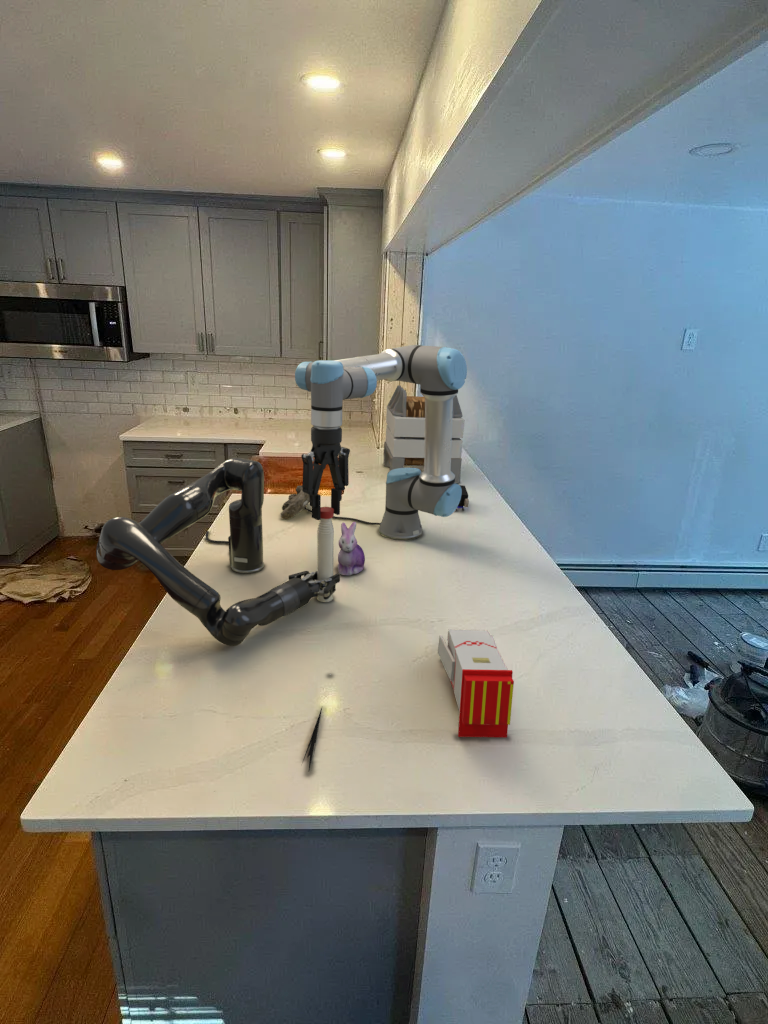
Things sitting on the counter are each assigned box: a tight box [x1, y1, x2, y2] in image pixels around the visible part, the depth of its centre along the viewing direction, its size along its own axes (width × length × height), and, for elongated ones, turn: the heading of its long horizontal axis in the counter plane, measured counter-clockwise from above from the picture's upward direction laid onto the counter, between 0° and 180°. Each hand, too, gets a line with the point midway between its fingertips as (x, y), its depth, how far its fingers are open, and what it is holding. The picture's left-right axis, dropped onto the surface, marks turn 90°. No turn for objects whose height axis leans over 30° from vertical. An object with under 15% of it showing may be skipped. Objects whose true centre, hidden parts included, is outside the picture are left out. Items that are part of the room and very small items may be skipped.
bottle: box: [316, 518, 335, 603], centre depth 149 cm, size 4×4×25 cm
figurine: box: [337, 521, 366, 576], centre depth 168 cm, size 9×10×15 cm
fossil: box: [280, 485, 310, 520], centre depth 215 cm, size 22×10×15 cm
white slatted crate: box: [383, 384, 465, 484], centre depth 268 cm, size 34×33×41 cm
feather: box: [301, 673, 332, 771], centre depth 108 cm, size 2×28×2 cm
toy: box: [437, 628, 515, 738], centre depth 117 cm, size 12×13×30 cm
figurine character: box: [455, 484, 470, 512], centre depth 229 cm, size 7×8×15 cm
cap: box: [320, 506, 335, 519], centre depth 145 cm, size 4×4×2 cm
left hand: (331, 574), depth 154 cm, fingers closed on bottle, 4 cm apart
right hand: (325, 515), depth 146 cm, fingers open, 6 cm apart
